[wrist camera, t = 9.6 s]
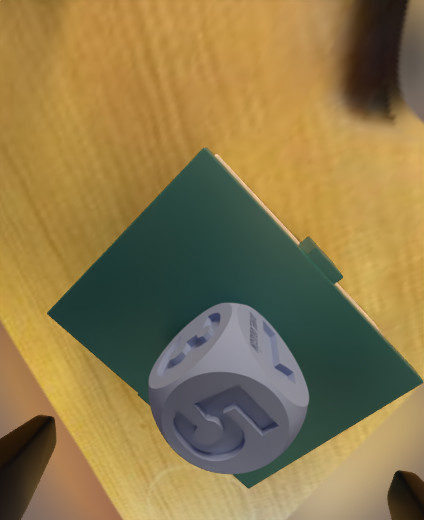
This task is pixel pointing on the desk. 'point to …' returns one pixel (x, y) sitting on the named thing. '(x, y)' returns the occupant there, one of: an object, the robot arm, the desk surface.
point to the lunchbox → (233, 300)
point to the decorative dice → (228, 391)
